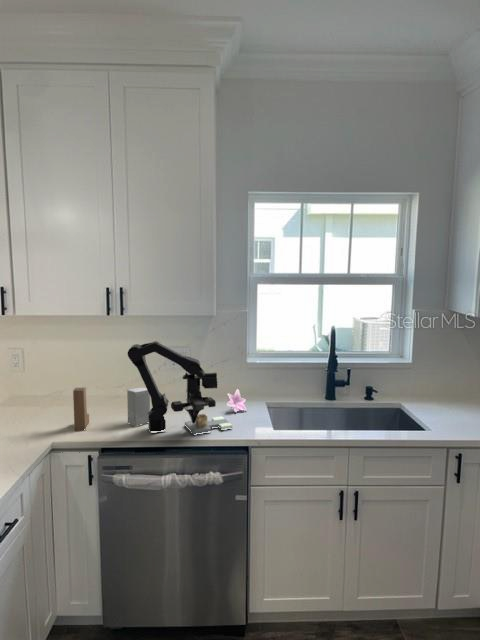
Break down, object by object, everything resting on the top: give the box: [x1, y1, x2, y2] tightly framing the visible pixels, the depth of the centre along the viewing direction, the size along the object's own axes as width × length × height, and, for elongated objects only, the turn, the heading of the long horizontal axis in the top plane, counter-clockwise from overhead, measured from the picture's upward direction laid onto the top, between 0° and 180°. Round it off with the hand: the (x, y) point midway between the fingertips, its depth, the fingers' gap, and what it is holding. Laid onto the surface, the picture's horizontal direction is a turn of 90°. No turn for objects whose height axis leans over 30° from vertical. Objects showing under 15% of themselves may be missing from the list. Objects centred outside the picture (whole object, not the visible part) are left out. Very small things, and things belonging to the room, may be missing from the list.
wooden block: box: [72, 387, 90, 431], centre depth 191 cm, size 9×4×18 cm, turn 8°
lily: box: [226, 388, 248, 413], centre depth 216 cm, size 12×12×10 cm
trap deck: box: [184, 415, 233, 435], centre depth 194 cm, size 18×12×2 cm, turn 115°
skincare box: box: [126, 387, 151, 427], centre depth 197 cm, size 8×7×16 cm
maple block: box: [196, 413, 208, 427], centre depth 192 cm, size 4×4×4 cm
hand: (193, 423), depth 190 cm, fingers closed
